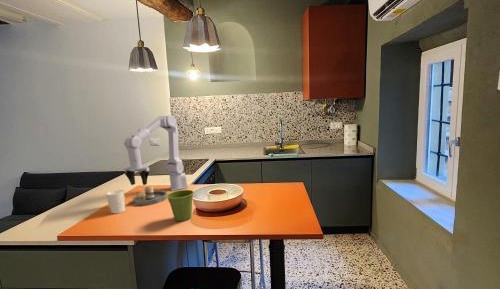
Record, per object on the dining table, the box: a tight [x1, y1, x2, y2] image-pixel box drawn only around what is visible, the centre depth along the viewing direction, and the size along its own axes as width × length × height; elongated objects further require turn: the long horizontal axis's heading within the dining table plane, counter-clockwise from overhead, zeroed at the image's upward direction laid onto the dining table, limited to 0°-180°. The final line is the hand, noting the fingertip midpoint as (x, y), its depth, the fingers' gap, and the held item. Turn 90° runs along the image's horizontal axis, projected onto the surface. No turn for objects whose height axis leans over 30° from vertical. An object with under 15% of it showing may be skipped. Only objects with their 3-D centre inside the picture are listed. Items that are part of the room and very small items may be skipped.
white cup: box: [105, 189, 126, 214], centre depth 146 cm, size 8×8×10 cm
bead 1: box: [135, 190, 146, 201], centre depth 157 cm, size 4×4×5 cm
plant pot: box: [166, 189, 195, 222], centre depth 129 cm, size 12×12×11 cm
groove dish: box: [132, 190, 168, 206], centre depth 160 cm, size 18×18×2 cm
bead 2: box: [144, 185, 155, 196], centre depth 165 cm, size 4×4×5 cm
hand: (139, 184), depth 156 cm, fingers open, 7 cm apart
